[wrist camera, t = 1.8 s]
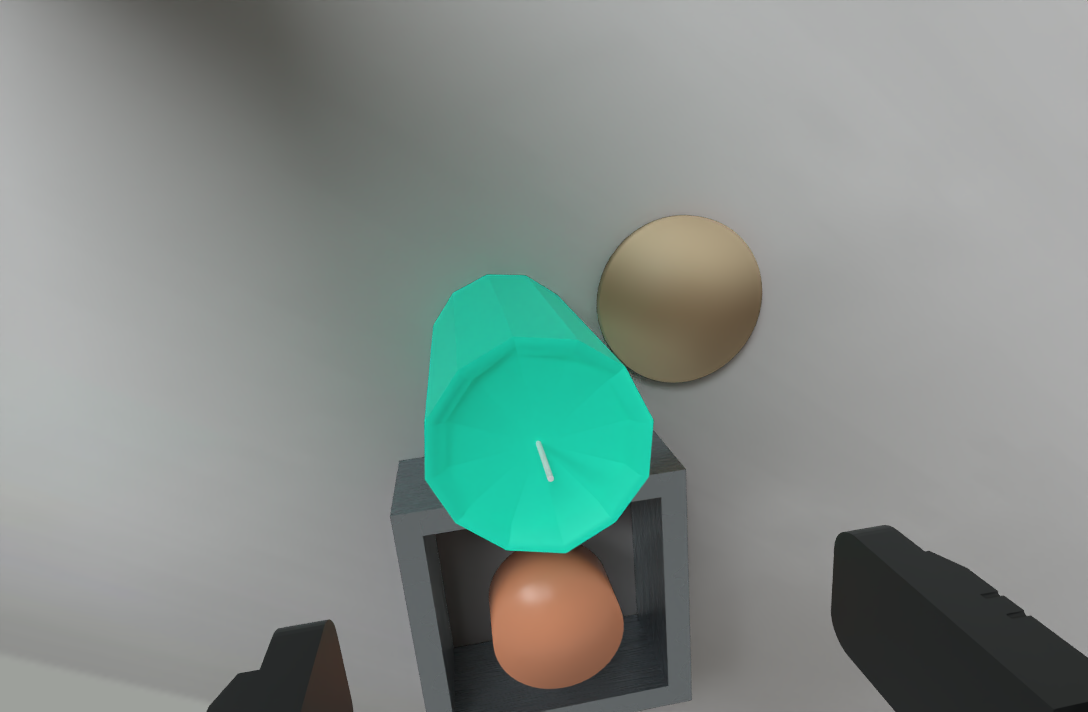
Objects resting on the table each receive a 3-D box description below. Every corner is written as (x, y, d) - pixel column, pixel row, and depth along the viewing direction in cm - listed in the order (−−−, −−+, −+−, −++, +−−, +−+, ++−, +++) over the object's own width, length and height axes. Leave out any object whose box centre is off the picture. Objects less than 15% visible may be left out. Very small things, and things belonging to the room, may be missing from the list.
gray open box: (399, 461, 26) (390, 516, 22) (648, 424, 28) (686, 469, 23) (435, 669, 29) (433, 752, 25) (657, 627, 31) (691, 700, 26)
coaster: (591, 224, 25) (594, 225, 24) (756, 207, 25) (763, 207, 25) (602, 388, 27) (605, 392, 26) (754, 367, 28) (760, 371, 27)
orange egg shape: (481, 550, 25) (485, 590, 22) (603, 529, 25) (620, 566, 23) (495, 652, 26) (500, 699, 24) (610, 630, 27) (627, 675, 24)
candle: (587, 392, 27) (692, 552, 15) (451, 427, 26) (455, 620, 15) (559, 256, 25) (655, 323, 13) (413, 291, 24) (383, 392, 13)
